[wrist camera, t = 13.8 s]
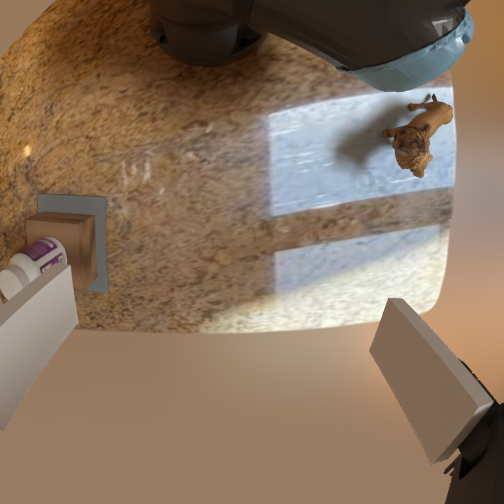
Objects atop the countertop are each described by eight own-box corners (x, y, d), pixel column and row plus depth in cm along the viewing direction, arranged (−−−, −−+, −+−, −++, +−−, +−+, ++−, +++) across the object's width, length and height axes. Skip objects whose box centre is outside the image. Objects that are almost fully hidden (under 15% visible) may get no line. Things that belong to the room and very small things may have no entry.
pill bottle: (32, 250, 31) (-12, 279, 22) (51, 227, 31) (4, 253, 22) (54, 281, 33) (15, 317, 24) (75, 261, 32) (34, 295, 23)
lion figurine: (392, 177, 36) (429, 187, 28) (365, 150, 35) (400, 153, 26) (442, 107, 33) (482, 103, 24) (419, 80, 31) (457, 70, 23)
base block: (44, 211, 35) (25, 219, 30) (95, 215, 36) (77, 224, 31) (49, 268, 38) (32, 282, 33) (97, 276, 38) (82, 292, 34)
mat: (38, 193, 34) (37, 194, 34) (106, 196, 35) (104, 197, 35) (46, 281, 39) (44, 282, 38) (108, 292, 40) (107, 293, 39)
